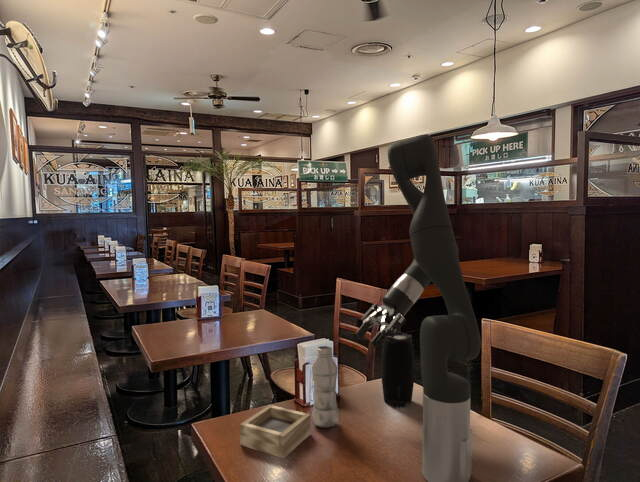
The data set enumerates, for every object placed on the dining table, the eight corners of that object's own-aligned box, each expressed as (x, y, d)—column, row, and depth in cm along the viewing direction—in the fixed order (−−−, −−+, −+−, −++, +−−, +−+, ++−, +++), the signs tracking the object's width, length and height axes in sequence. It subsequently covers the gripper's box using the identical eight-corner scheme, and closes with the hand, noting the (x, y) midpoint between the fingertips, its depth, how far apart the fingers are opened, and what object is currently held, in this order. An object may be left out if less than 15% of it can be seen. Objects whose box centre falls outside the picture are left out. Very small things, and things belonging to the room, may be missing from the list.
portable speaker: (386, 393, 131) (387, 329, 130) (417, 399, 126) (418, 333, 125) (377, 404, 123) (377, 336, 122) (409, 411, 119) (410, 340, 118)
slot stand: (310, 434, 106) (310, 414, 106) (283, 458, 96) (283, 436, 95) (269, 423, 112) (269, 404, 112) (240, 445, 101) (240, 424, 101)
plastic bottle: (336, 432, 107) (336, 352, 106) (309, 429, 109) (309, 351, 108) (340, 420, 114) (340, 345, 112) (315, 418, 115) (314, 343, 114)
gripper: (381, 281, 123) (344, 325, 120) (409, 290, 110) (369, 339, 107) (397, 298, 126) (361, 342, 122) (426, 308, 112) (387, 357, 109)
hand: (365, 340), depth 114 cm, fingers open, 8 cm apart
